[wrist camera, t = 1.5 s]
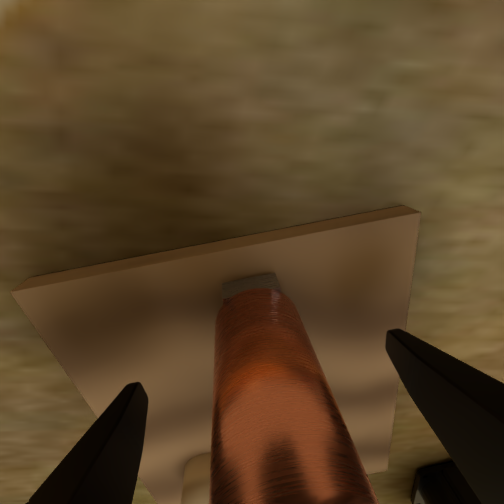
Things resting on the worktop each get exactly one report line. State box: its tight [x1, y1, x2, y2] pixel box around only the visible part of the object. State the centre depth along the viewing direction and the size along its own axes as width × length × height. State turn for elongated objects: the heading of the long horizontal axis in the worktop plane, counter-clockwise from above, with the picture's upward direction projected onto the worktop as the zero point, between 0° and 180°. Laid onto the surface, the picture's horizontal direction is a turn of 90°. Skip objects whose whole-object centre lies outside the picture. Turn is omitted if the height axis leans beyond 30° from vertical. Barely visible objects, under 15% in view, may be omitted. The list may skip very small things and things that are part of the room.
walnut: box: [181, 453, 211, 504], centre depth 17 cm, size 4×4×3 cm
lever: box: [209, 273, 379, 504], centre depth 11 cm, size 15×4×8 cm, turn 9°
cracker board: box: [10, 205, 421, 504], centre depth 15 cm, size 22×18×4 cm
